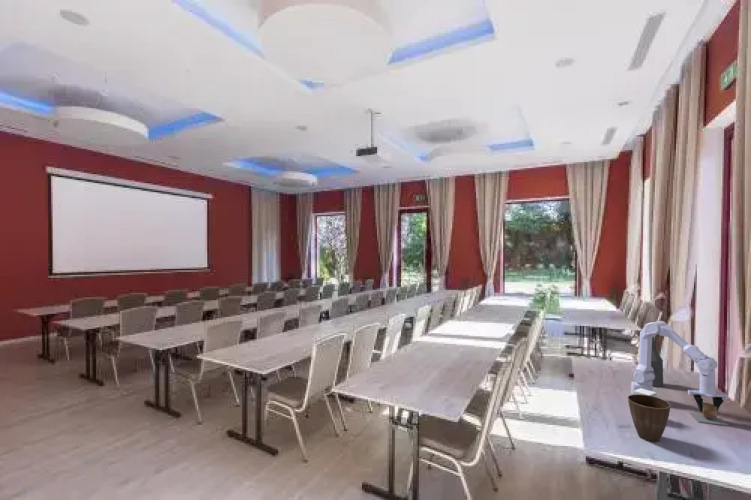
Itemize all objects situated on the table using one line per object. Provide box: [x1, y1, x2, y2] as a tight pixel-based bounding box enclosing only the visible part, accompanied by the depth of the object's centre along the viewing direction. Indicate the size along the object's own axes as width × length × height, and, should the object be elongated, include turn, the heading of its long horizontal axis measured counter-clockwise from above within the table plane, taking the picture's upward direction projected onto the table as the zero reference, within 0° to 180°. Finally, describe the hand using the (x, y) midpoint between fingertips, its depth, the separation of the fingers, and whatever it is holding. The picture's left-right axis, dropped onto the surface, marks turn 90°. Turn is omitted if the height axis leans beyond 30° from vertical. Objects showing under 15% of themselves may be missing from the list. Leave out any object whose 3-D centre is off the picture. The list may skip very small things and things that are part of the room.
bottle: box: [651, 336, 664, 388], centre depth 225 cm, size 10×10×30 cm
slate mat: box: [688, 411, 729, 427], centre depth 178 cm, size 11×11×1 cm
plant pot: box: [627, 394, 671, 443], centre depth 161 cm, size 15×15×16 cm
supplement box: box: [633, 388, 658, 398], centre depth 181 cm, size 7×7×13 cm
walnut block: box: [698, 401, 718, 418], centre depth 178 cm, size 5×5×5 cm
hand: (707, 411), depth 178 cm, fingers closed on walnut block, 5 cm apart
